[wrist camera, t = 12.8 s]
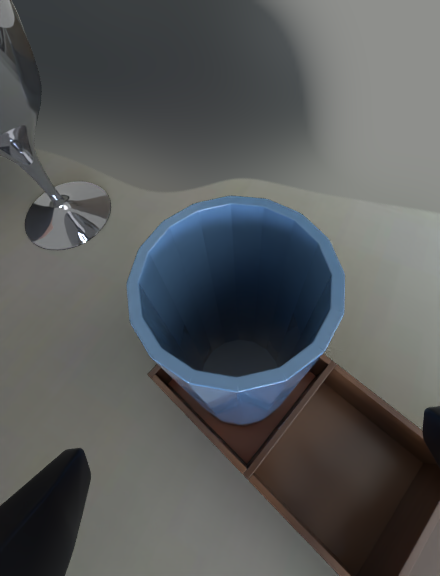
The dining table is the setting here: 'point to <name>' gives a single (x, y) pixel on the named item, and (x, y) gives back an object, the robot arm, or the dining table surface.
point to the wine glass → (20, 149)
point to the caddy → (337, 472)
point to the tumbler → (236, 302)
